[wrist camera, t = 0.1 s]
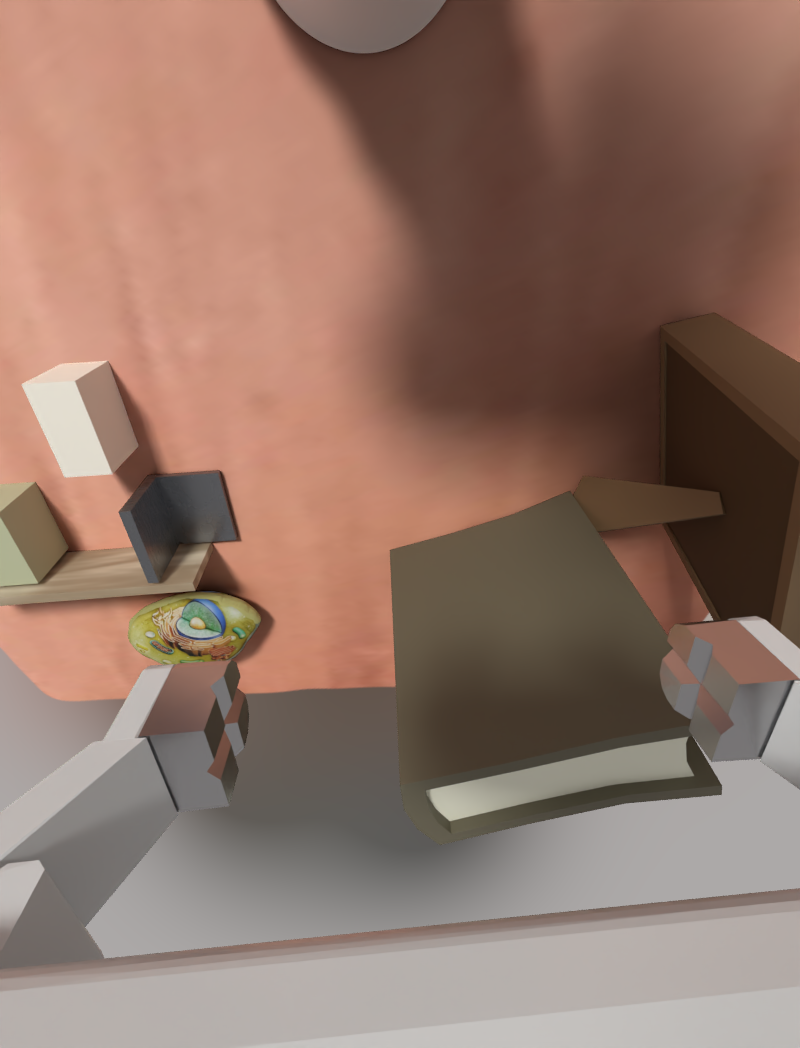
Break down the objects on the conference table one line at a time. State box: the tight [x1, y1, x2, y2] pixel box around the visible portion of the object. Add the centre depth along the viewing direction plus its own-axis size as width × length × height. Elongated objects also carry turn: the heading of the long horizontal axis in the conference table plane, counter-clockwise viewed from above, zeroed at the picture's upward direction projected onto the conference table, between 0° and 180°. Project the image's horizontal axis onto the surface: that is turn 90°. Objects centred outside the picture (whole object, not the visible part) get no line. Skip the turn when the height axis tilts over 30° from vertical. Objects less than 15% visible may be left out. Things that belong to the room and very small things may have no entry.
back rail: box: [0, 542, 213, 606], centre depth 48 cm, size 10×25×7 cm, turn 92°
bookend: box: [119, 470, 237, 583], centre depth 48 cm, size 8×7×7 cm
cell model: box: [128, 591, 261, 665], centre depth 57 cm, size 10×8×14 cm
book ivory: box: [21, 361, 139, 477], centre depth 42 cm, size 8×4×6 cm, turn 2°
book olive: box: [0, 482, 69, 586], centre depth 48 cm, size 8×4×6 cm, turn 2°
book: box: [390, 491, 722, 845], centre depth 45 cm, size 22×9×28 cm, turn 109°
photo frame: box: [573, 313, 800, 649], centre depth 40 cm, size 15×22×25 cm
